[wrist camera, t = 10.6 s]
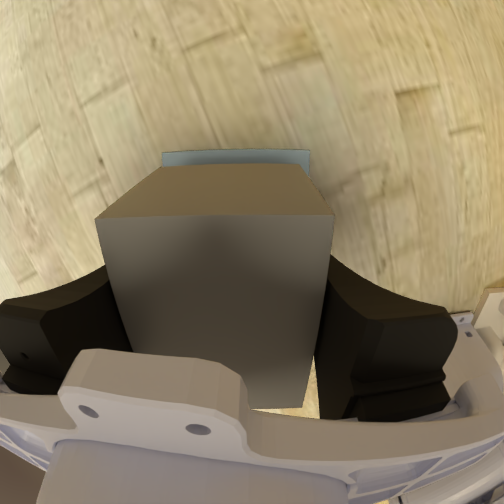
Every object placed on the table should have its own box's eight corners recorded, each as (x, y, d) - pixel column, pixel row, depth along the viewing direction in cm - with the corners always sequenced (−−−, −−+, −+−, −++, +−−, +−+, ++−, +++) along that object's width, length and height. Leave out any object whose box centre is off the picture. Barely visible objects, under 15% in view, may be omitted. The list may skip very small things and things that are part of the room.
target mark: (309, 149, 15) (309, 150, 15) (301, 277, 19) (301, 278, 19) (163, 152, 15) (161, 153, 15) (177, 276, 19) (176, 278, 19)
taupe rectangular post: (289, 312, 16) (301, 407, 11) (181, 311, 16) (154, 402, 11) (299, 164, 12) (334, 215, 7) (160, 166, 12) (94, 219, 7)
